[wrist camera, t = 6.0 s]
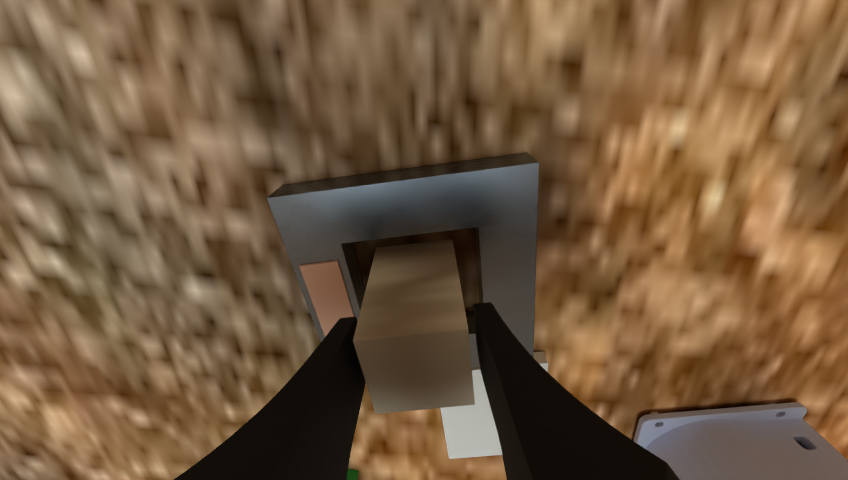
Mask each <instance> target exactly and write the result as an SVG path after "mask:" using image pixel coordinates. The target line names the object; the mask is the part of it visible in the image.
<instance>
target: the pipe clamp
mask: <svg viewBox="0 0 848 480" xmlns="http://www.w3.org/2000/svg"><path fill="white" fill-rule="evenodd" d="M358 473H359V471H358V470H353V469H348V473H347V480H357V479H358Z"/></svg>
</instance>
